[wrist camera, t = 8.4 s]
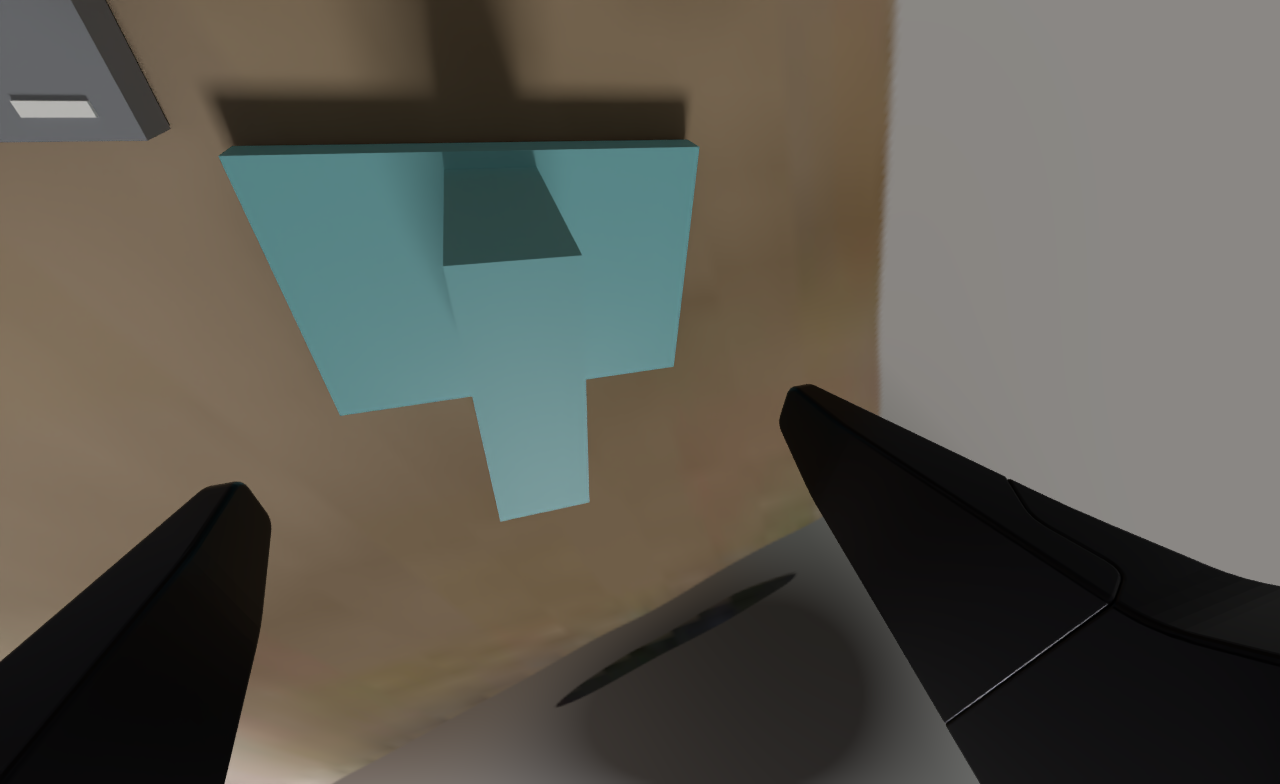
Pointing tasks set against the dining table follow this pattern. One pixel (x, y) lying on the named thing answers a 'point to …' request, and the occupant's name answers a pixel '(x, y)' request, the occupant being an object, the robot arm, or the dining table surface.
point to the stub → (480, 281)
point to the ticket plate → (71, 76)
